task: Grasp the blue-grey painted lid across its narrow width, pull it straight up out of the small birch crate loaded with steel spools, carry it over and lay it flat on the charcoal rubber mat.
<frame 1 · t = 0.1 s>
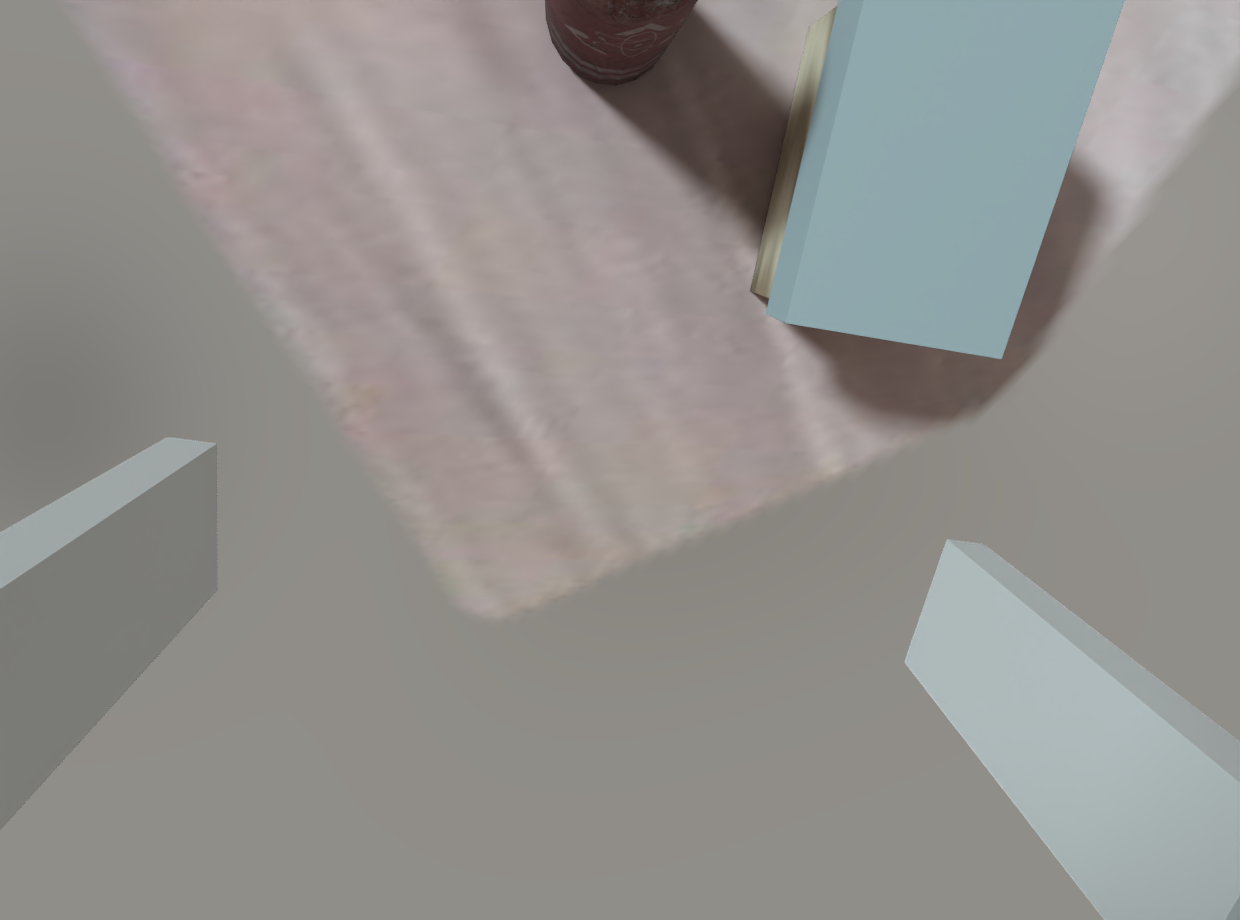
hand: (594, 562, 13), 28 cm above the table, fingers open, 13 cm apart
can: (610, 14, 35), on the table
lid: (911, 172, 31), point 7 cm above the table, touching crate
crate: (849, 180, 38), on the table
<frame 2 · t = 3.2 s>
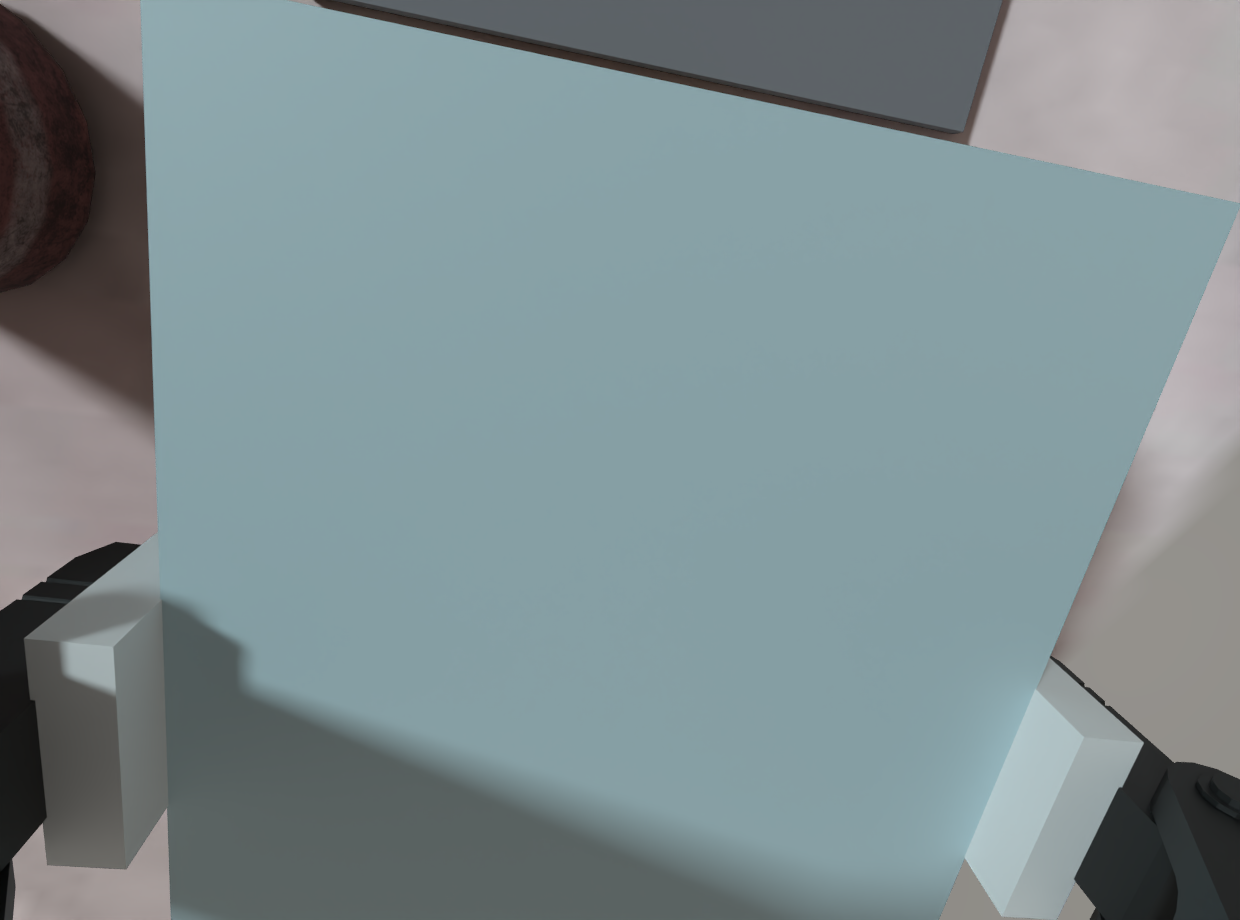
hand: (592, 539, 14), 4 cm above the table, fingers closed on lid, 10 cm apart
lid: (600, 611, 11), point 7 cm above the table, touching crate, gripper
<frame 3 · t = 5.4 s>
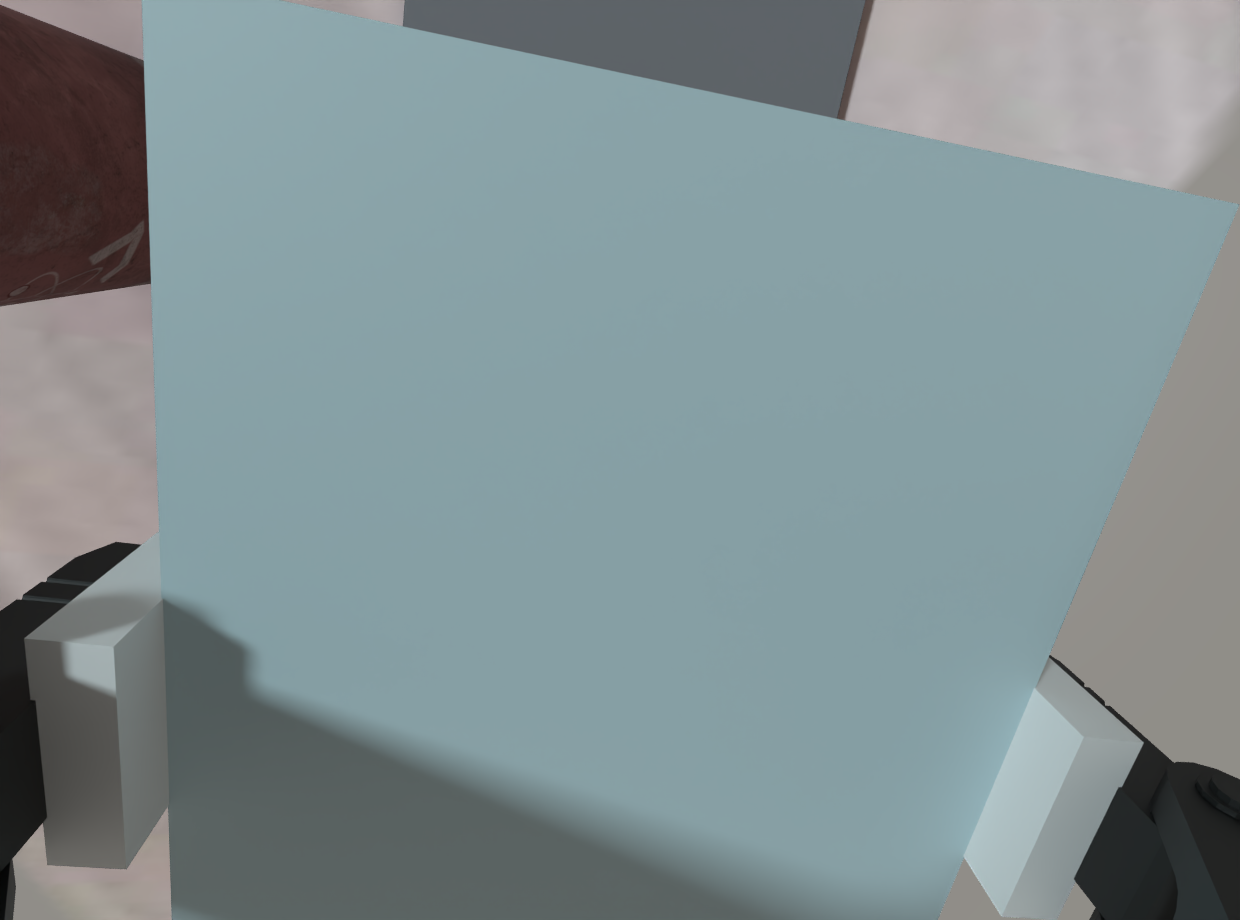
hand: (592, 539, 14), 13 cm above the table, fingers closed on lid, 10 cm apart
can: (178, 174, 23), on the table
lid: (600, 611, 11), point 16 cm above the table, touching gripper
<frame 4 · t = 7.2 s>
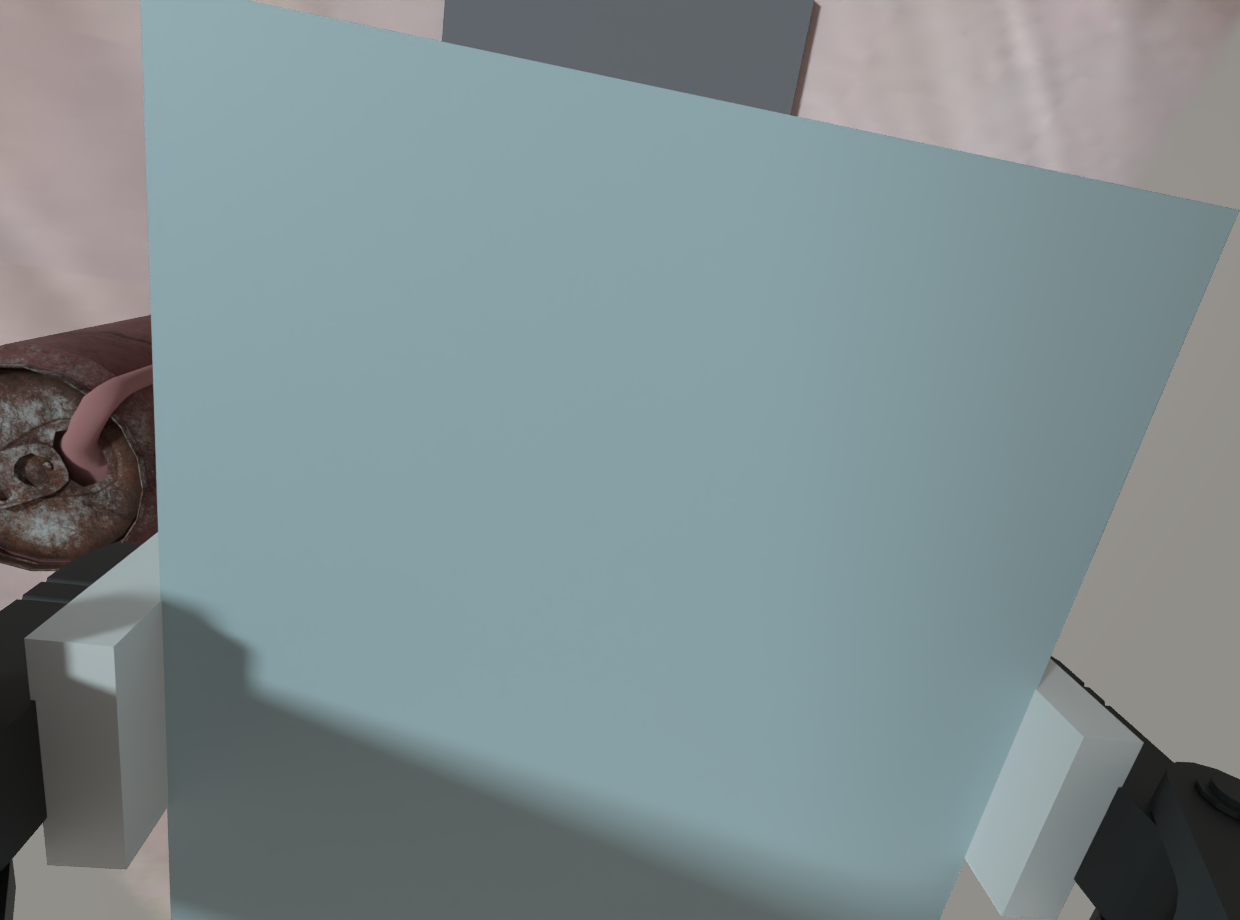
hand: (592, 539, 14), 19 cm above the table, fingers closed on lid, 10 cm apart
can: (260, 366, 31), on the table
lid: (599, 614, 11), point 22 cm above the table, touching gripper
mat: (610, 156, 29), on the table
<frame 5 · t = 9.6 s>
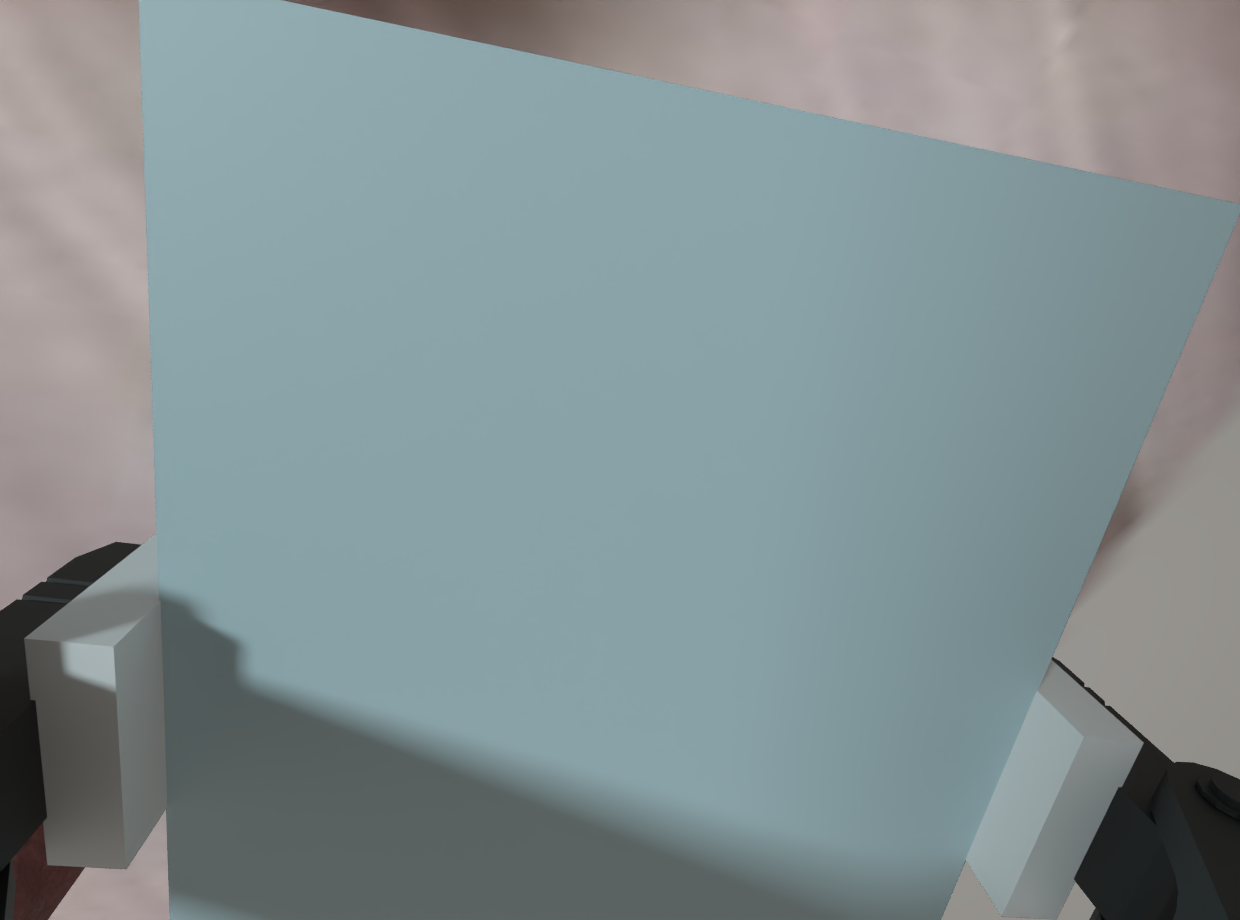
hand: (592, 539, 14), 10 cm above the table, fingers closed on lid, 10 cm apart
can: (134, 641, 25), on the table
lid: (600, 613, 11), point 12 cm above the table, touching gripper
when the fingers open (2 cm above the table, at t = 11.6 s): lid drops 2 cm, resting on mat.
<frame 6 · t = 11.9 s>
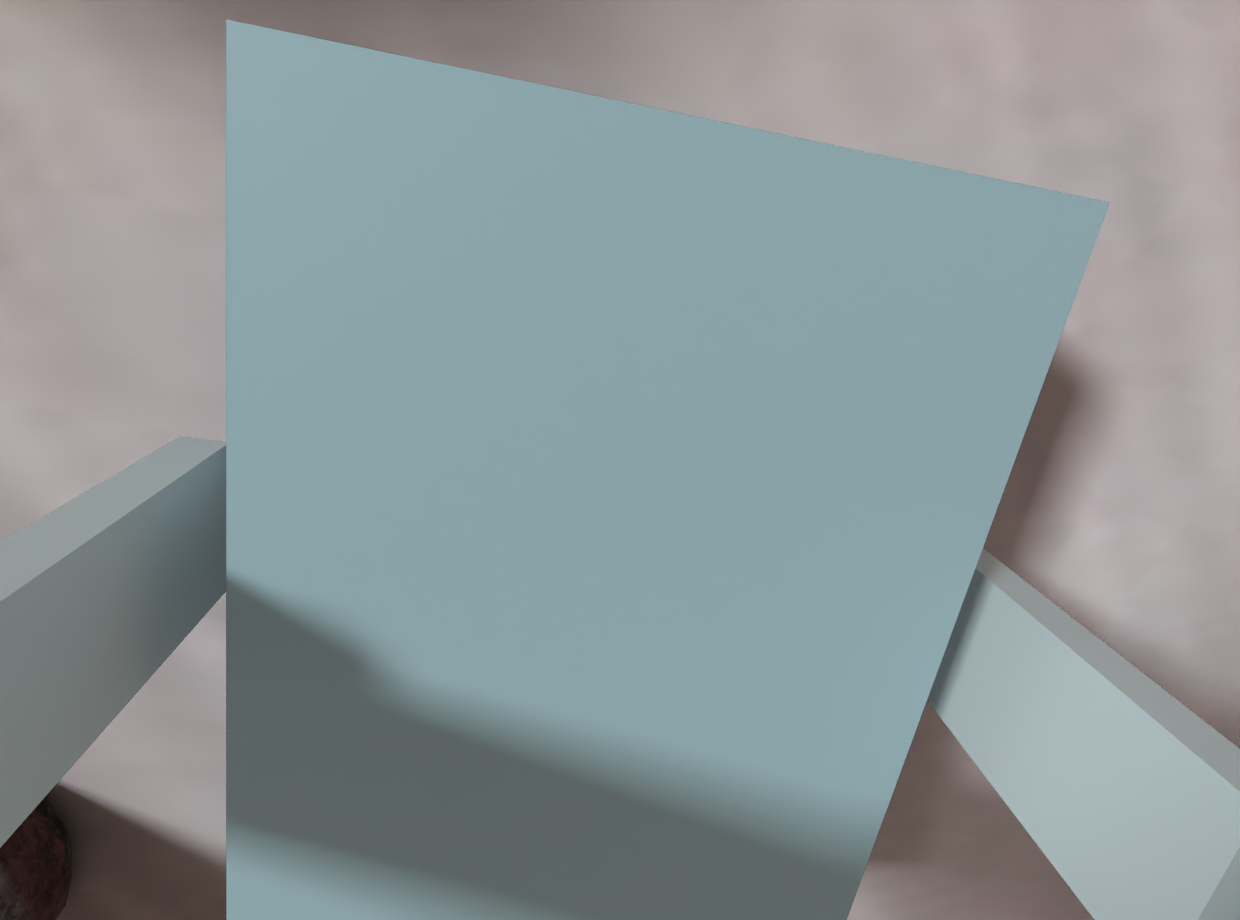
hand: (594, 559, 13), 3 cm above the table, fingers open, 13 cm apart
lid: (592, 560, 13), point 3 cm above the table, touching mat
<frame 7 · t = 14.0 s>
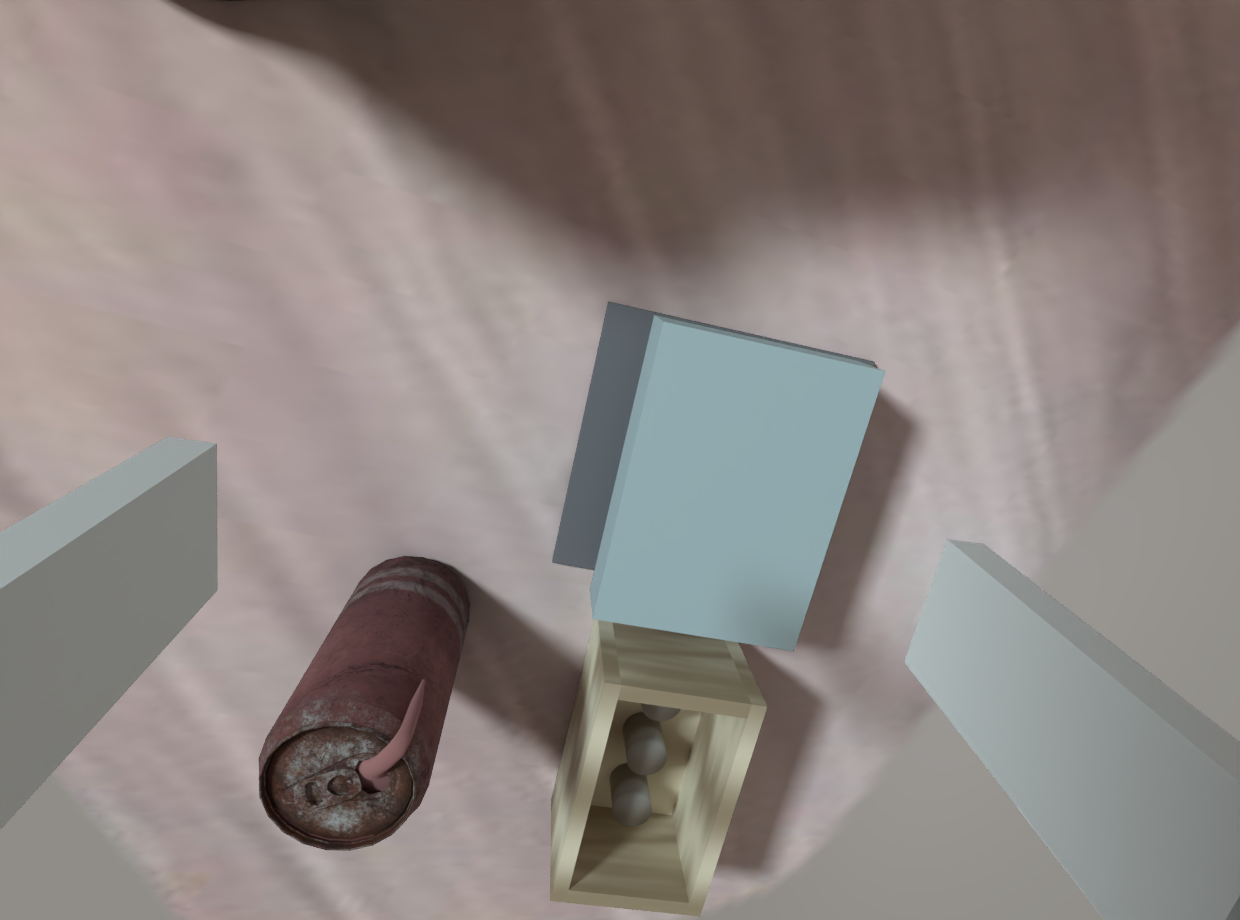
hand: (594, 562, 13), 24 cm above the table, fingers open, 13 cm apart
can: (416, 599, 39), on the table
lid: (719, 478, 35), point 3 cm above the table, touching mat
crate: (639, 717, 42), on the table
mat: (708, 462, 38), on the table
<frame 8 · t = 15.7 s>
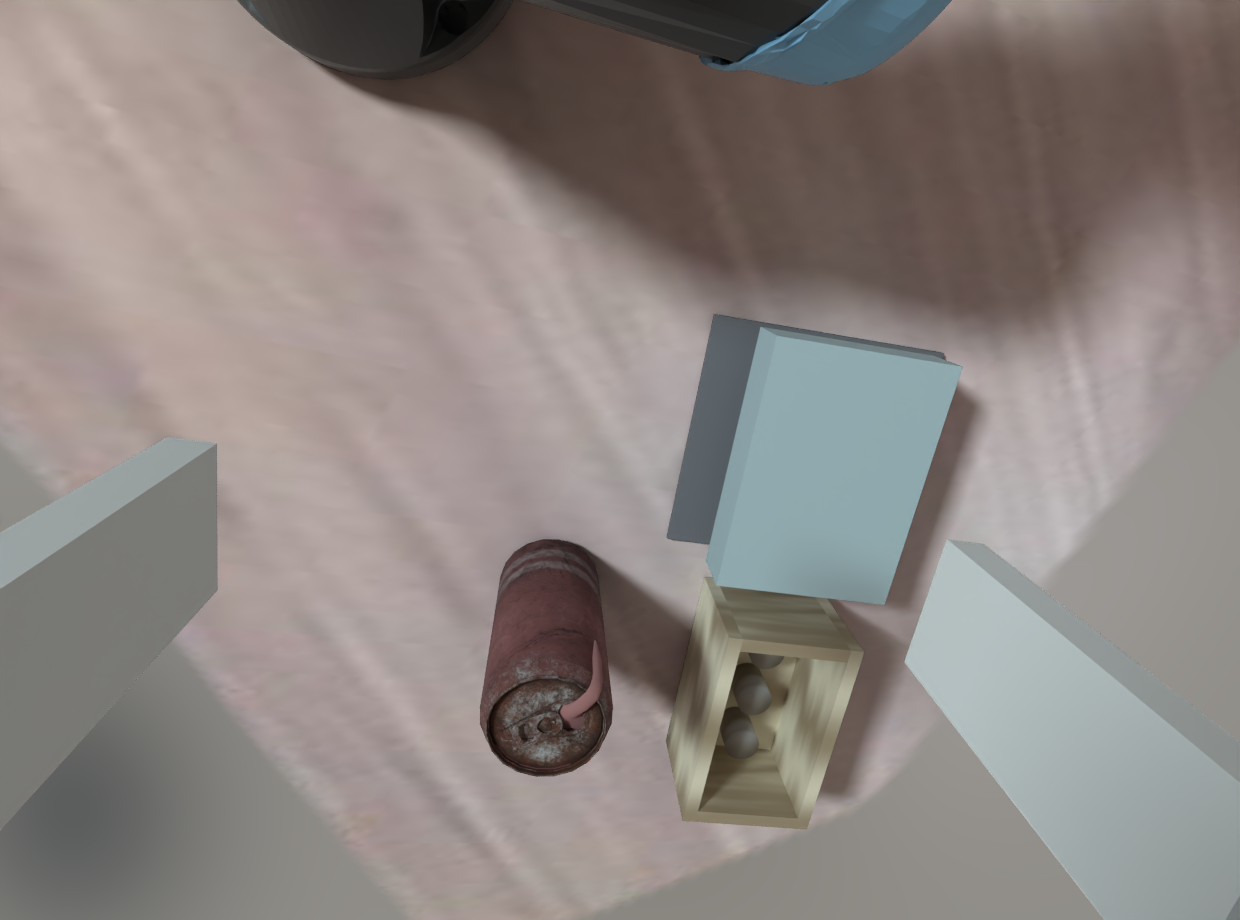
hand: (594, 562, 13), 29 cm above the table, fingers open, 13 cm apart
can: (551, 575, 45), on the table
lid: (815, 461, 41), point 3 cm above the table, touching mat
crate: (741, 667, 48), on the table
mat: (799, 446, 43), on the table
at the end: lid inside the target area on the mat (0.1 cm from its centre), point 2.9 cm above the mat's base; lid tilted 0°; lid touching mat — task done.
